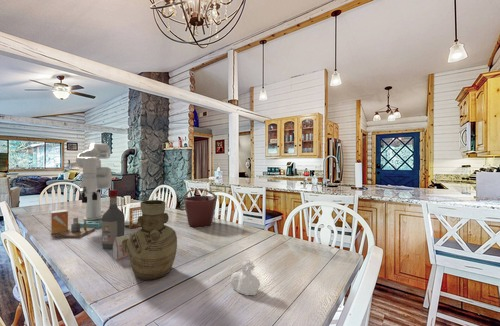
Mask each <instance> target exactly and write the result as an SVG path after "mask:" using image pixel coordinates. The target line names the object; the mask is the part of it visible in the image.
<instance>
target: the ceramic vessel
mask: <svg viewBox="0 0 500 326" xmlns="http://www.w3.org/2000/svg"><path fill="white" fill-rule="evenodd" d="M139 205H140V210H141V216H138V218H137V220H136V223H137V227H141V228H140V229H138V230H136V231H134V232H133V233H132V234H130V237H129V239H126V240H123V241H122V245H123V246H122V252H123V253H125V252H127V256H128V257H127V258H128V260H129V262H130V267H131V268H130V269H131V271H132V272H133V274H134V276H136V277H137V278H138V279H140V280H142V281H153V280H158V279H161V278H162V277H165V276H166V275H168V273H169V272H170V270H171V268H172V267H173V265H174V262H175V259H176V254H177V248H178V237H177V233H176V230H174V229H173V228H172V227H171V226H169V225H166V224H168V222H169V214H168V213H167V212H165V210H166V201H164V200H161V199H147V200H142V201H140V204H139Z"/></svg>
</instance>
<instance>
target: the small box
mask: <svg viewBox="0 0 500 326" xmlns="http://www.w3.org/2000/svg"><path fill="white" fill-rule="evenodd" d="M66 230H69V211H68V209H61V210H60V209H59V210H53V211H51V210H50V233H51V235H53V234H59V233H61V232H64V231H66Z"/></svg>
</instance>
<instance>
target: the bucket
mask: <svg viewBox="0 0 500 326" xmlns="http://www.w3.org/2000/svg"><path fill="white" fill-rule="evenodd" d="M193 191H195V192H196V191H203V192H207V193H208V194H210V195H212V196H209V195H193V196H188V194H189V193H190V192H193ZM186 196H188V197H186ZM182 198H183V200H184V202H183V203H184V207H185V212H186V218H187V224H188V226H189V227H190V228H196V227H202V228H206V227H205V226H208V227H211V225H212V224H213V220H214V216H215V215H214V214H215V209H216V206H217V199H218V196H217V195H216V194H215V193H214V192H213V191H210V190H207V189H204V188H195V189H190V190H188V191H186V193H185V194H182ZM211 223H212V224H211Z"/></svg>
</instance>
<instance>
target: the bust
mask: <svg viewBox="0 0 500 326" xmlns="http://www.w3.org/2000/svg"><path fill="white" fill-rule="evenodd" d="M239 263H240V266H241V267H240V269H241V271H236V272H233V273H231V277H230V286H231V288H232V289H234V290H235V292H237V293H240V294H242V295H244V296H255V295H256V294H258V291H259V288H260V286H261V283H260V280H259V278H258V277H257V276H256V275H254V274H252V271H254V269H255V267H256V266H255V265H254V262H253V261H252V260H250V259H249V260H245V261H240V262H239Z"/></svg>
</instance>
